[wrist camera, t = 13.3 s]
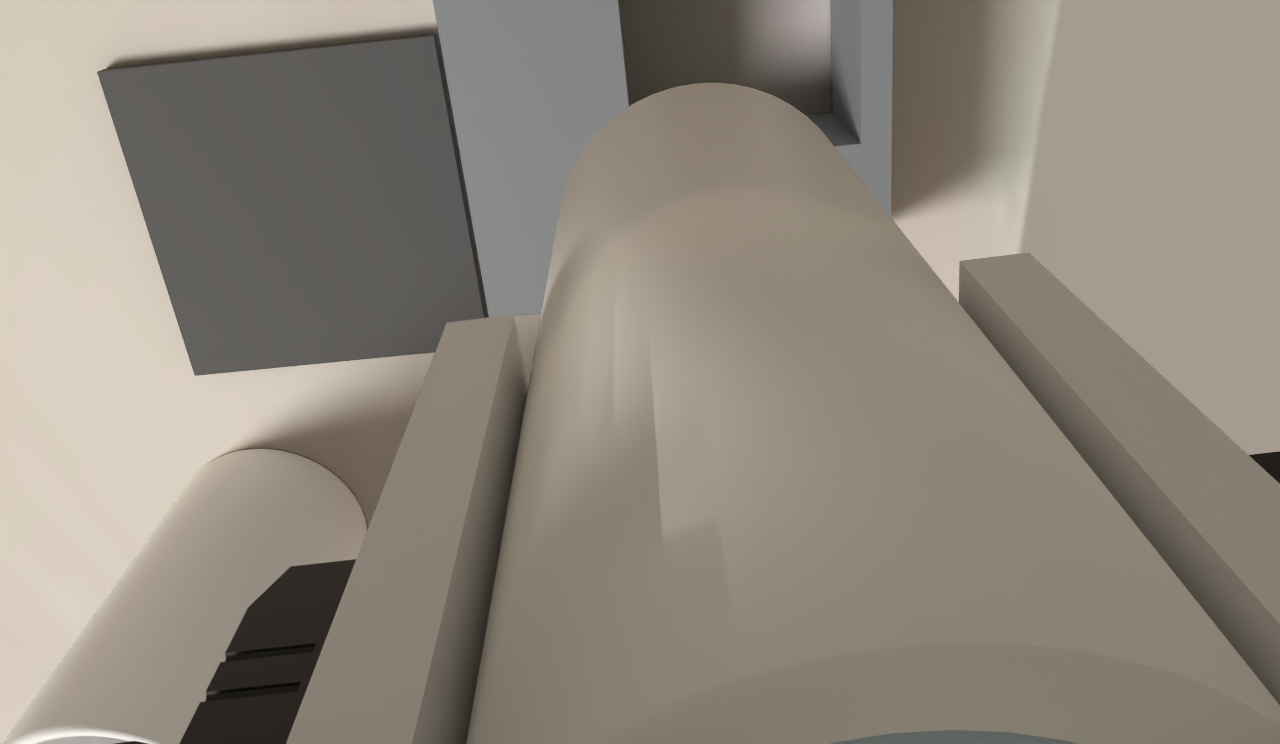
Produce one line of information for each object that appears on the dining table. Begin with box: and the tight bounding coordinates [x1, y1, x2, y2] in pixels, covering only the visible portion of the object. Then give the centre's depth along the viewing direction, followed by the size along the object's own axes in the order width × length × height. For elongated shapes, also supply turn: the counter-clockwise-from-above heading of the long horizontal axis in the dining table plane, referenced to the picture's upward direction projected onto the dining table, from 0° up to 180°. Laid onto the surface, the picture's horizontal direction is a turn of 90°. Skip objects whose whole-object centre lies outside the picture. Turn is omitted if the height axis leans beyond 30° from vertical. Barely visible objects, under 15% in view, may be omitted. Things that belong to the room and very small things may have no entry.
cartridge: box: [466, 83, 1280, 744], centre depth 11 cm, size 5×5×14 cm
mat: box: [97, 34, 487, 376], centre depth 39 cm, size 12×12×1 cm
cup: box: [2, 449, 367, 744], centre depth 38 cm, size 8×8×16 cm
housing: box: [433, 0, 893, 317], centre depth 35 cm, size 14×14×5 cm
